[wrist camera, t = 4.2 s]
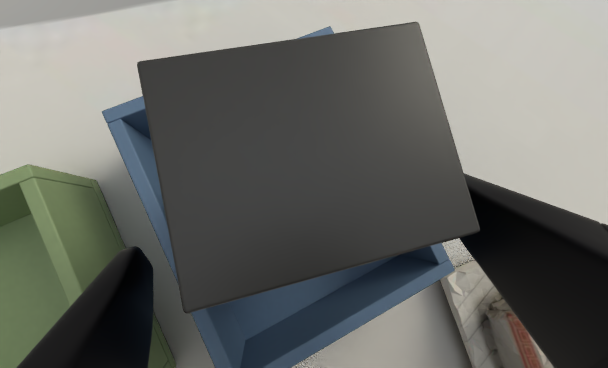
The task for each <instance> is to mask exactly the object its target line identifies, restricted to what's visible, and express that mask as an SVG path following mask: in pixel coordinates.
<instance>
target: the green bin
mask: <svg viewBox="0 0 608 368" xmlns="http://www.w3.org/2000/svg"><path fill="white" fill-rule="evenodd" d="M123 249H126V248H125V246H124V244H123V241H122V239H121V237H120V234H119V232H118V230H117V227H116V225H115V223H114V221H113V218H112V216H111V214H110V211H109V209H108V207H107V204H106V202H105V200H104V198H103V195H102V193H101V191H100V188H99V186H98V184H97V181H96V180H93V179H89V178H85V177H80V176H76V175H72V174H67V173H63V172H59V171H55V170H50V169H46V168H42V167H38V166H33V165H25V166H22V167H20V168H17V169H14V170H12V171H9V172H7V173H4V174H1V175H0V368H16V367H17V366H18V365H19V364H20V363H21V362H22V361H23V359H24V358H25V357H26V356H27V355H28V354H29V353H30V351H31V350H32V349H33V348H34V347H35V346H36V345H37V344H38V342H39V341H40V340H41V339H42V338H43V337H44V336H45V334H46V333H47V332H48V331H49V330H50V329H51V328H52V327H53V325H54V324H55V323H56V322H57V321H58V320H59V319H60V318H61V316H62V315H63V314H64V313H65V312H66V311H67V310H68V308H69V307H70V306H71V305H72V304H73V303H74V302H75V301H76V299H77V298H78V297H79V296H80V295H81V294H82V293H83V292H84V290H85V289H86V288H87V287H88V286H89V285H90V284H91V282H92V281H93V280H94V279H95V278H96V277H97V276H98V275H99V273H100V272H101V271H102V270H103V269H104V268H105V267H106V265H107V264H108V263H109V262H110V261H111V260H112V259H113V258H114V256H115V255H116V254H117V253H118V252H119V251H121V250H123ZM175 367H176V363H175V361H174V359H173V356H172V354H171V352H170V349H169V347H168V345H167V343H166V340H165V338H164V336H163V333H162V331H161V329H160V326H159V324H158V322H157V320H156V317H155V315H154V313H153V329H152V338H151V346H150V354H149V362H148V368H175Z"/></svg>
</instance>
